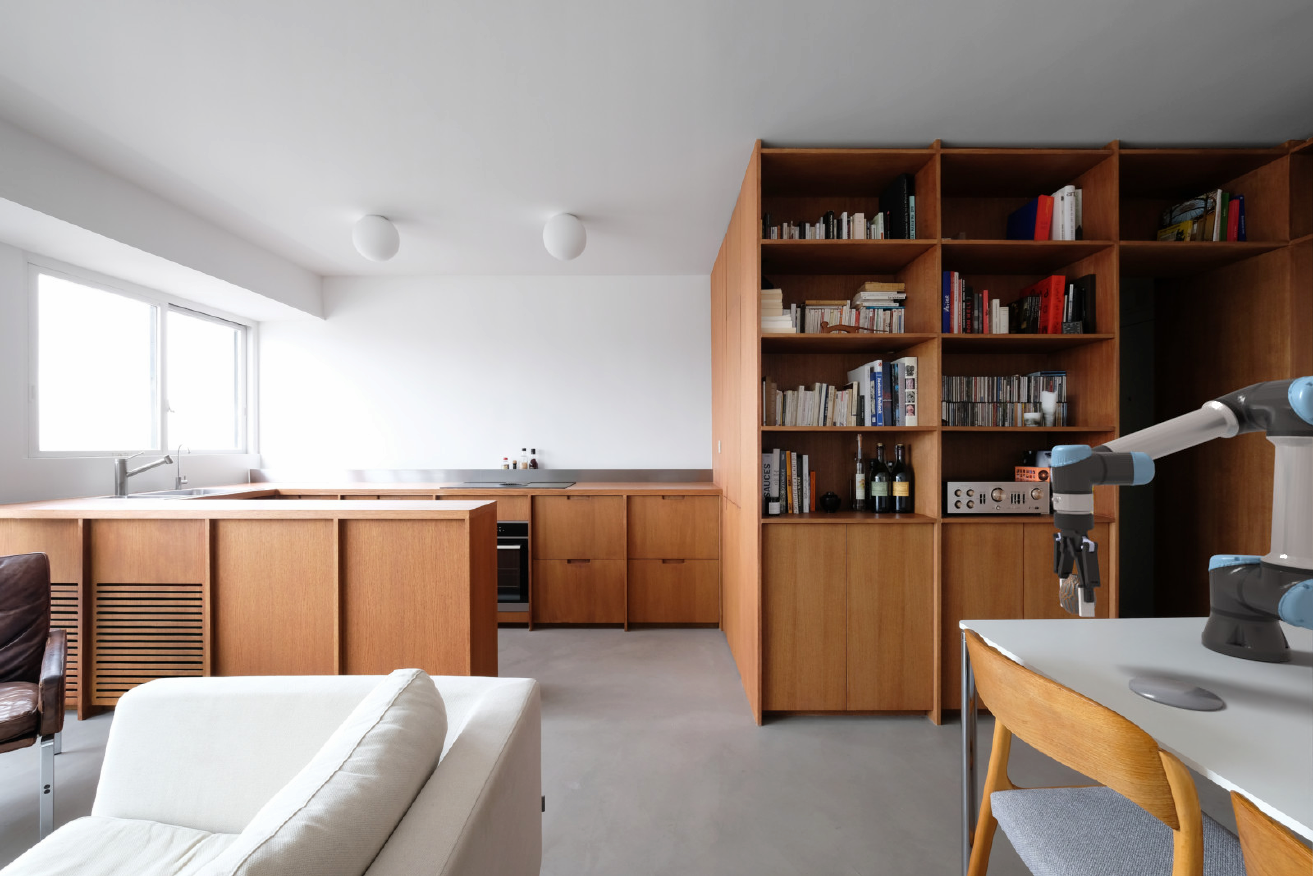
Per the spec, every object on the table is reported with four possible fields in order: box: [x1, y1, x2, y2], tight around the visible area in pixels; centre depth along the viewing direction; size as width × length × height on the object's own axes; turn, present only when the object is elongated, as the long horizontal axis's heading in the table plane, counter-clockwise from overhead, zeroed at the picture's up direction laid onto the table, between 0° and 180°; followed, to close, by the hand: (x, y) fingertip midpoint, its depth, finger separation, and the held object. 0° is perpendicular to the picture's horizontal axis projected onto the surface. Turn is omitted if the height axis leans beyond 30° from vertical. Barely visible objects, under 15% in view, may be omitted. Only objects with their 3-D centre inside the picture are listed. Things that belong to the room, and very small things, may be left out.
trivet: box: [1128, 676, 1223, 712], centre depth 115 cm, size 14×14×1 cm
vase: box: [1058, 573, 1097, 616], centre depth 132 cm, size 7×7×9 cm
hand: (1077, 611), depth 132 cm, fingers closed on vase, 7 cm apart
